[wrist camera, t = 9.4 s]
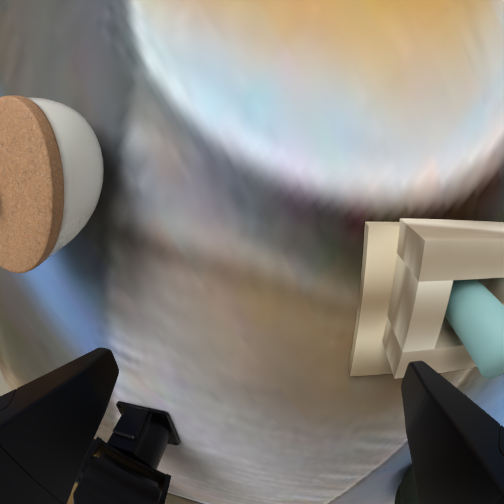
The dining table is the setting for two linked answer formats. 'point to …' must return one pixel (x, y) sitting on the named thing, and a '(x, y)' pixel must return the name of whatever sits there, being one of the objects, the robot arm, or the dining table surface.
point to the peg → (478, 324)
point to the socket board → (419, 291)
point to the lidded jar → (44, 179)
